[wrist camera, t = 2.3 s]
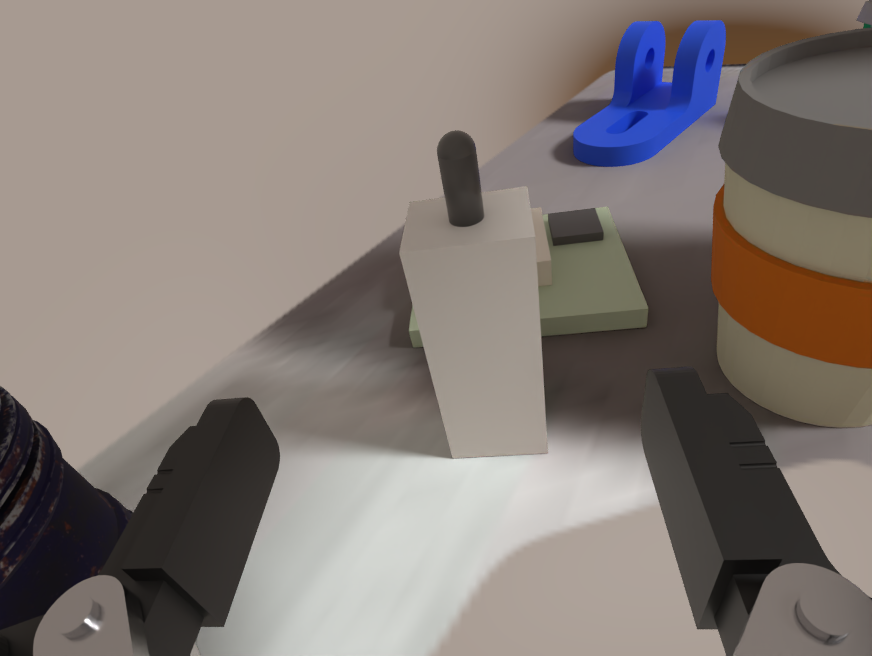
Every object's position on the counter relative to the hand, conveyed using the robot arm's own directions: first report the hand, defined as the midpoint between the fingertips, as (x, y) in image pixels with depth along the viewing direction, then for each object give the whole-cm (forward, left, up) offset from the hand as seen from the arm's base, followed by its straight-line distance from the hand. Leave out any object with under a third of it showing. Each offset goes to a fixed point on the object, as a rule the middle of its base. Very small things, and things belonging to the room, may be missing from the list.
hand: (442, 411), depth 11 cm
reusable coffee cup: (-17, -14, -15) cm, 27 cm away
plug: (0, -11, -15) cm, 19 cm away
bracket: (-16, -50, -15) cm, 54 cm away
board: (-2, -25, -15) cm, 29 cm away
